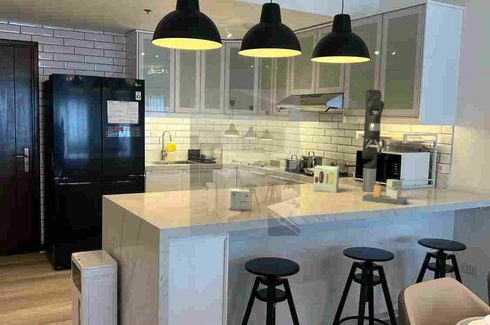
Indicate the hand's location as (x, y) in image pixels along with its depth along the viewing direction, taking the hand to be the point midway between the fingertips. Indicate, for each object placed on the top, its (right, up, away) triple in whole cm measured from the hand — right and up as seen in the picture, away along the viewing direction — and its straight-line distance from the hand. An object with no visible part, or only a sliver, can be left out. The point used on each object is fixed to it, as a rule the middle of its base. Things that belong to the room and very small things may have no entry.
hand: (373, 153), depth 328 cm
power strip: (+4, -31, -12) cm, 34 cm away
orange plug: (0, -31, -9) cm, 32 cm away
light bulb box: (-90, -32, -54) cm, 110 cm away
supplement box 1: (-28, -27, +28) cm, 48 cm away
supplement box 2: (+15, -31, +4) cm, 34 cm away
